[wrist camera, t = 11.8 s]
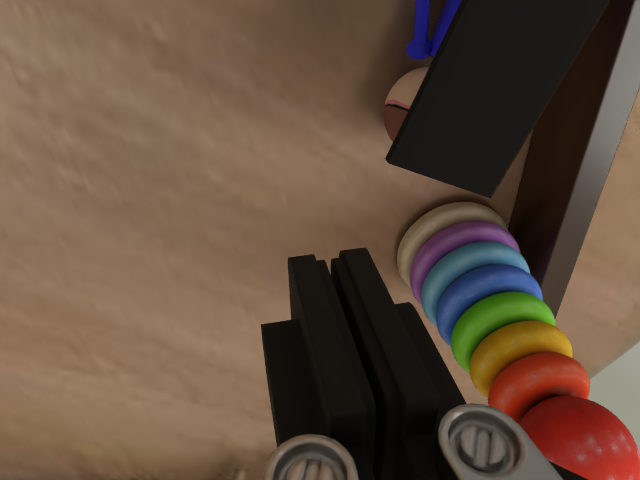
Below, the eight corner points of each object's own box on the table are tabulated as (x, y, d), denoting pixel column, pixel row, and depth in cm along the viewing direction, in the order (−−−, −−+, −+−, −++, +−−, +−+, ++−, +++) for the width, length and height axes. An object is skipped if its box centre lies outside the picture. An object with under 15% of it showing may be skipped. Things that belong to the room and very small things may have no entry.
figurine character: (463, -180, 23) (346, 126, 29) (567, -237, 17) (389, 172, 22) (570, -114, 25) (442, 157, 31) (698, -142, 19) (507, 207, 25)
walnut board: (489, 304, 40) (520, 350, 36) (586, -78, 25) (657, -72, 21) (512, 301, 40) (545, 347, 36) (622, -78, 26) (699, -73, 22)
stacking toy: (422, 185, 32) (605, 440, 17) (521, 208, 35) (755, 449, 20) (376, 278, 36) (493, 554, 21) (468, 293, 39) (630, 549, 24)
